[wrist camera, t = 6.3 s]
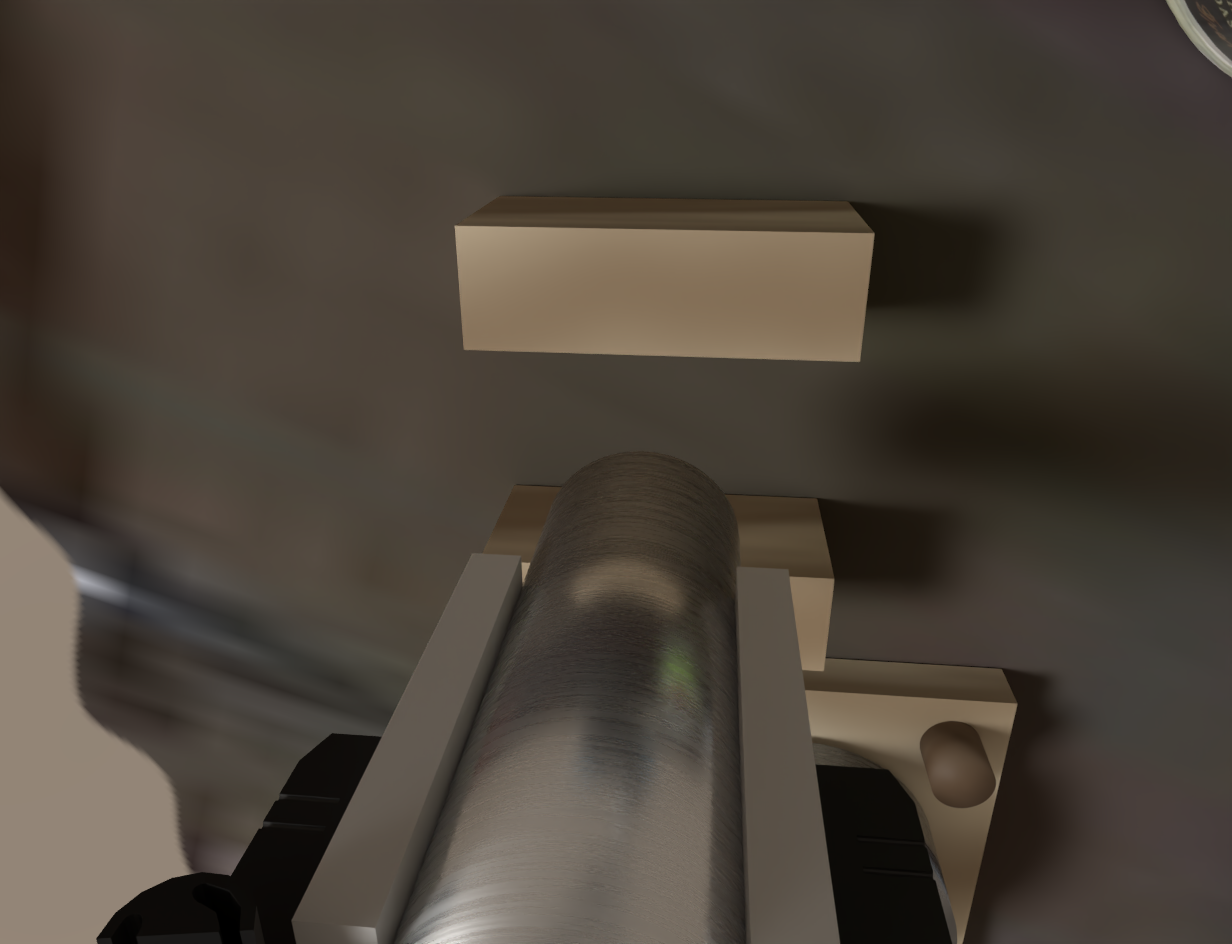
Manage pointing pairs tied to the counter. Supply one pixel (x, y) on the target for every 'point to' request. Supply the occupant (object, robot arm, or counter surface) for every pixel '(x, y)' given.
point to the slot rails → (675, 324)
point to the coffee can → (1207, 28)
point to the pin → (604, 732)
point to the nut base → (889, 737)
